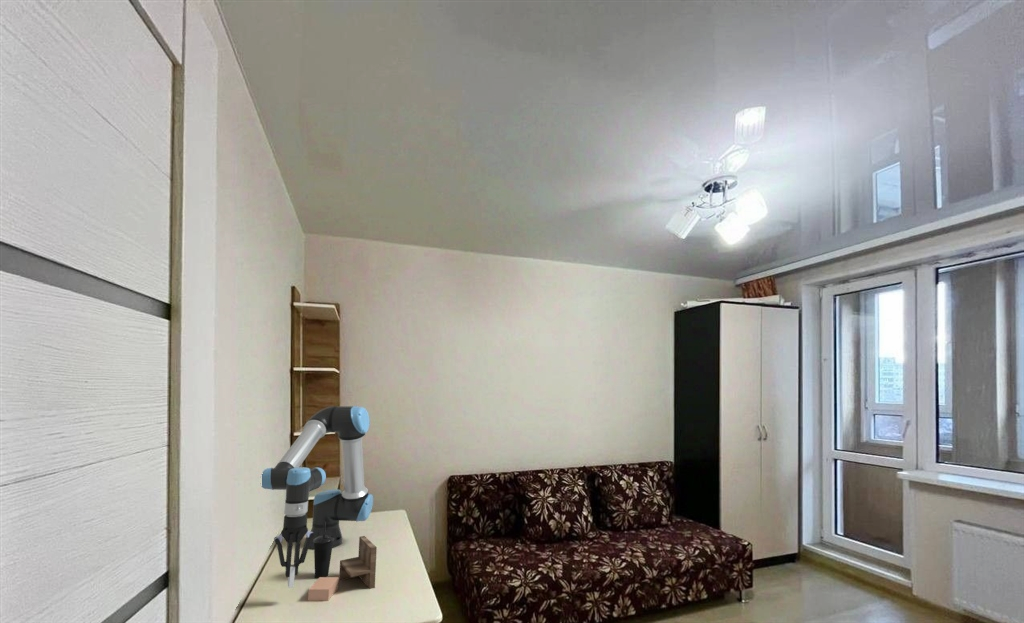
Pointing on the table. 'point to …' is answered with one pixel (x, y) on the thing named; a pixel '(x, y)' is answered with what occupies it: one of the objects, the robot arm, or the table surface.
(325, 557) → the drinking cup
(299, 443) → the robot arm
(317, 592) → the pink rectangular block
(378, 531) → the table surface
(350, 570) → the desk shelf
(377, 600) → the table surface
